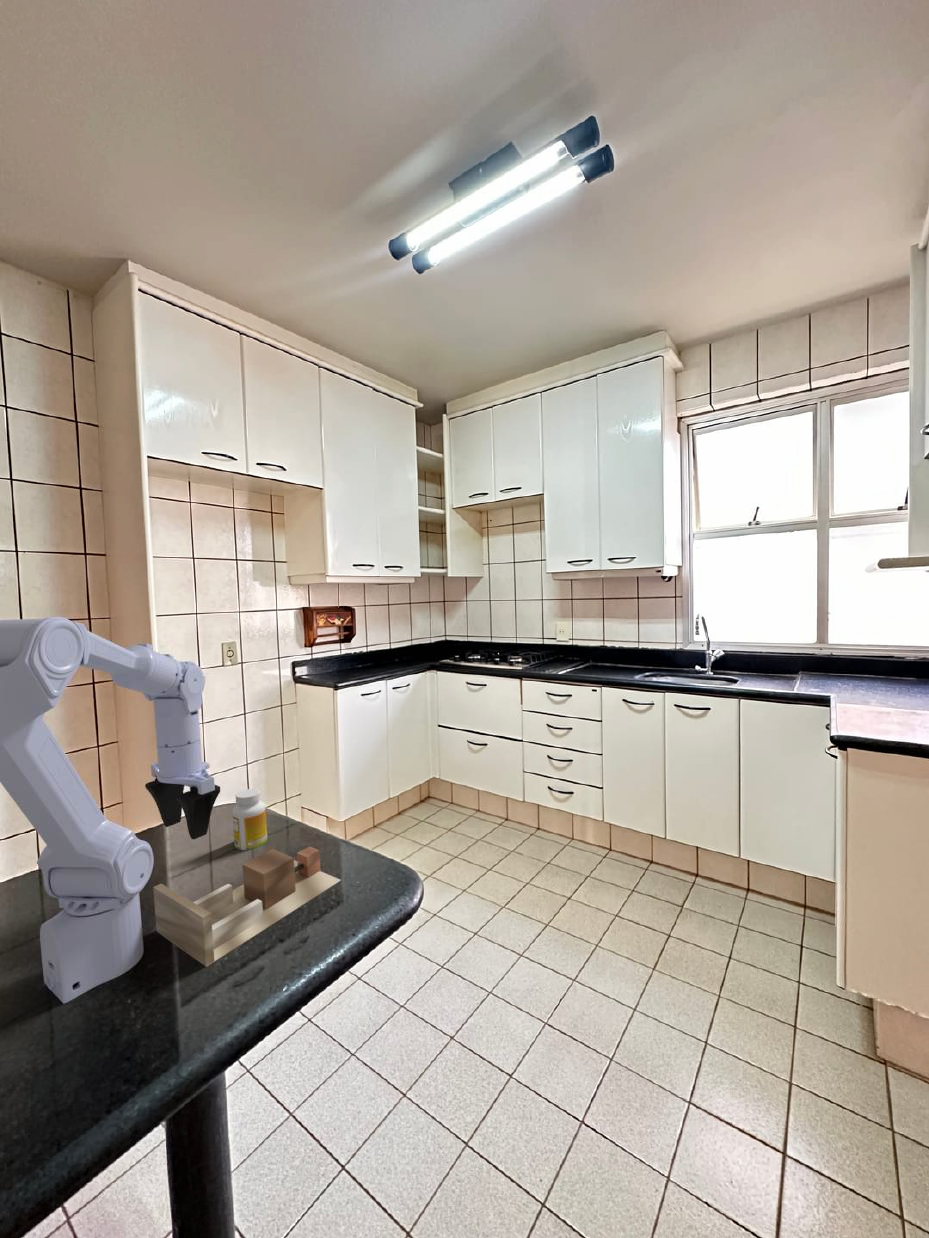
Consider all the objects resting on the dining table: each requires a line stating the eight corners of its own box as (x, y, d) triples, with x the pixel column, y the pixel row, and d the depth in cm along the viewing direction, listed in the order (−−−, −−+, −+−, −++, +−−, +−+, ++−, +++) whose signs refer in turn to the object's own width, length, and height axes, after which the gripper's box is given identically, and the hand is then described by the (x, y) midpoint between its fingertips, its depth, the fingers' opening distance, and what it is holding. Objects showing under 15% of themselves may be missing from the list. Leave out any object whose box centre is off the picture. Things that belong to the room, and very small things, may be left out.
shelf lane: (206, 972, 62) (202, 917, 61) (157, 936, 69) (153, 887, 68) (341, 884, 79) (339, 841, 79) (291, 863, 86) (288, 823, 85)
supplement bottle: (273, 839, 94) (269, 786, 94) (258, 854, 89) (255, 799, 88) (244, 838, 95) (241, 786, 94) (228, 854, 90) (224, 799, 89)
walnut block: (265, 908, 72) (263, 874, 72) (244, 897, 75) (242, 864, 75) (326, 872, 81) (324, 841, 81) (305, 863, 84) (303, 833, 84)
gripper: (231, 741, 77) (237, 830, 78) (181, 728, 85) (186, 809, 86) (183, 755, 71) (190, 851, 72) (134, 740, 79) (140, 826, 80)
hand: (185, 830), depth 78 cm, fingers open, 7 cm apart
